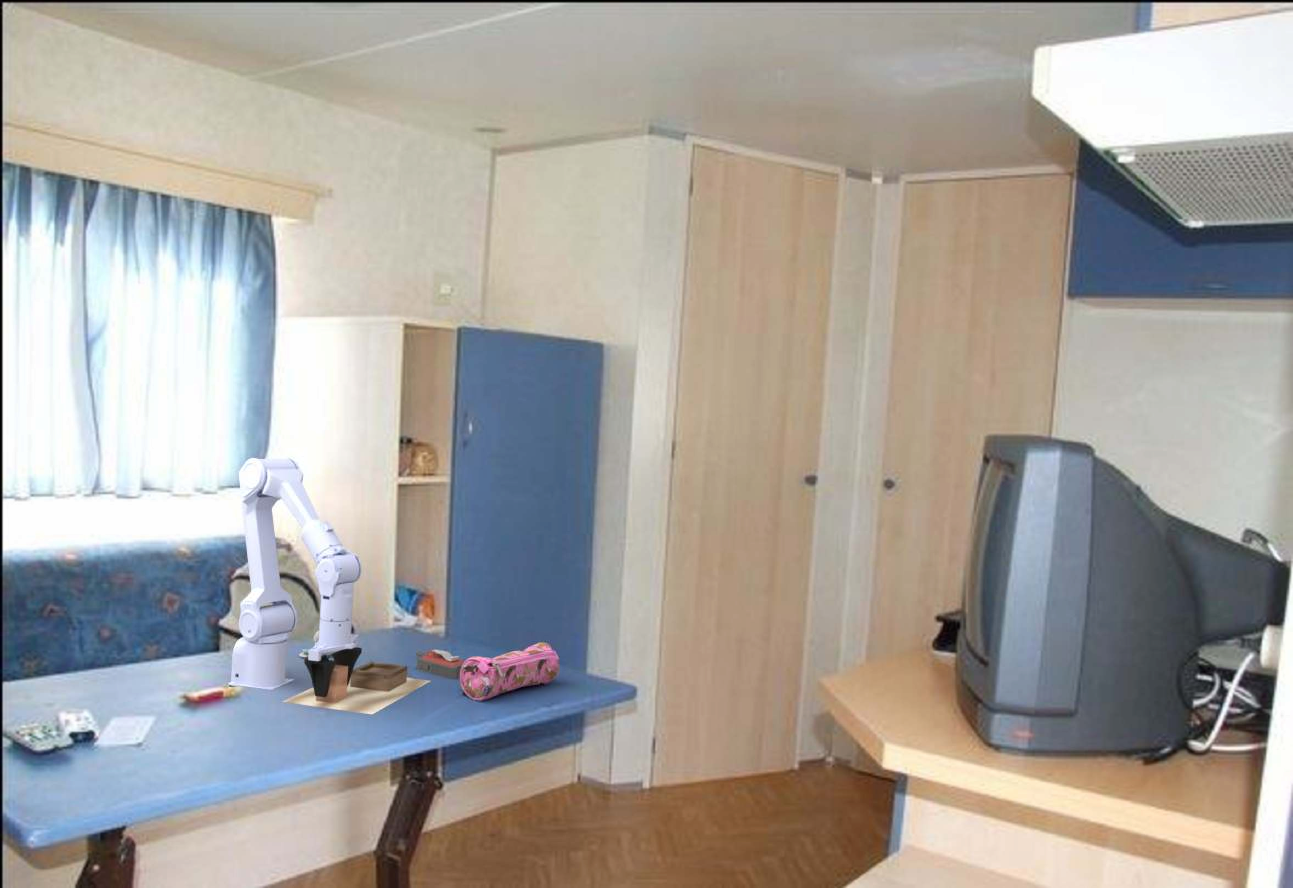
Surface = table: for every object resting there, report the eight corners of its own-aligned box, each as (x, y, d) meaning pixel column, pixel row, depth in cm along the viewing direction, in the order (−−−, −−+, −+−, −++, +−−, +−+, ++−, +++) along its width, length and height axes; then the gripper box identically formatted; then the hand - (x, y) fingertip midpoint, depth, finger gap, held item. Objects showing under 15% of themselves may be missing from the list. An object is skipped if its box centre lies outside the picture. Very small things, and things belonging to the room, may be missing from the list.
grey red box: (486, 675, 218) (419, 657, 229) (487, 655, 218) (421, 638, 229) (457, 683, 210) (390, 664, 222) (458, 661, 210) (391, 644, 221)
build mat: (282, 704, 187) (283, 684, 186) (350, 672, 211) (351, 654, 211) (372, 717, 183) (373, 696, 183) (431, 683, 207) (432, 665, 207)
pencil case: (487, 707, 194) (490, 660, 194) (454, 696, 200) (457, 651, 200) (562, 687, 212) (565, 645, 211) (529, 678, 217) (532, 637, 217)
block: (315, 700, 188) (317, 668, 188) (326, 695, 192) (328, 663, 192) (335, 703, 188) (337, 671, 187) (346, 697, 191) (348, 666, 191)
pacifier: (292, 657, 221) (311, 661, 218) (293, 629, 221) (312, 632, 218) (319, 652, 227) (338, 656, 224) (320, 624, 227) (339, 627, 224)
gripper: (335, 628, 182) (331, 703, 182) (374, 614, 196) (370, 684, 196) (299, 623, 183) (295, 698, 183) (340, 610, 197) (336, 679, 198)
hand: (331, 691), depth 190 cm, fingers open, 7 cm apart
